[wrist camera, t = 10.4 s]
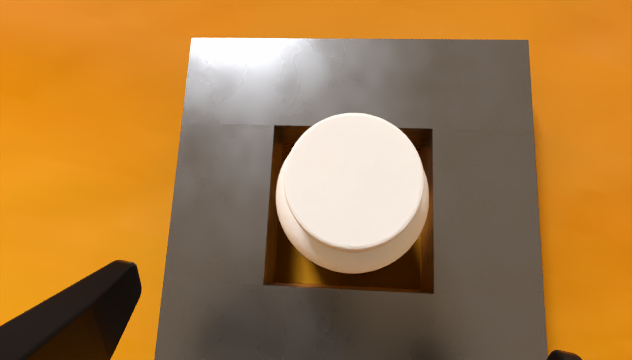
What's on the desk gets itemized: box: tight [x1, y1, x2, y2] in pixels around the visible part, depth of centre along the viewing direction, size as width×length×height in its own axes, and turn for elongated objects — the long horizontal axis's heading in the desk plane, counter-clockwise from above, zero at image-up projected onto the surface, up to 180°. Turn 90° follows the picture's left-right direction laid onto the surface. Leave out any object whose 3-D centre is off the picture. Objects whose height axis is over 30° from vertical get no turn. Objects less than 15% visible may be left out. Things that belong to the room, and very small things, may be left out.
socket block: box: [154, 38, 548, 360], centre depth 19 cm, size 16×16×3 cm
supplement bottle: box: [276, 113, 429, 274], centre depth 16 cm, size 5×5×10 cm
